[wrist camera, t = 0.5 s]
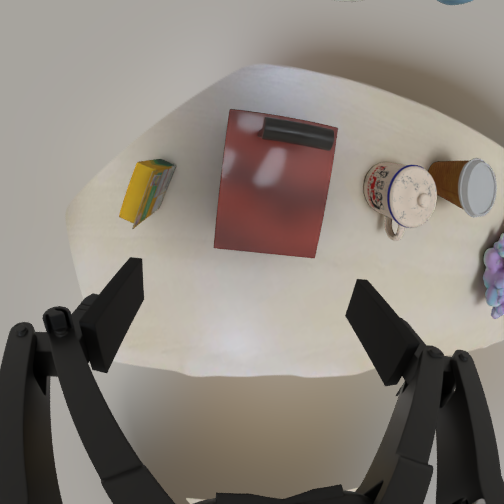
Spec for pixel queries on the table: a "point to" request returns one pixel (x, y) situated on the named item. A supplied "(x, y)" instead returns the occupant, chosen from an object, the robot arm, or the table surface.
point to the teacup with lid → (401, 195)
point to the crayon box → (146, 190)
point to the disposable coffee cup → (466, 184)
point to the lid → (273, 184)
